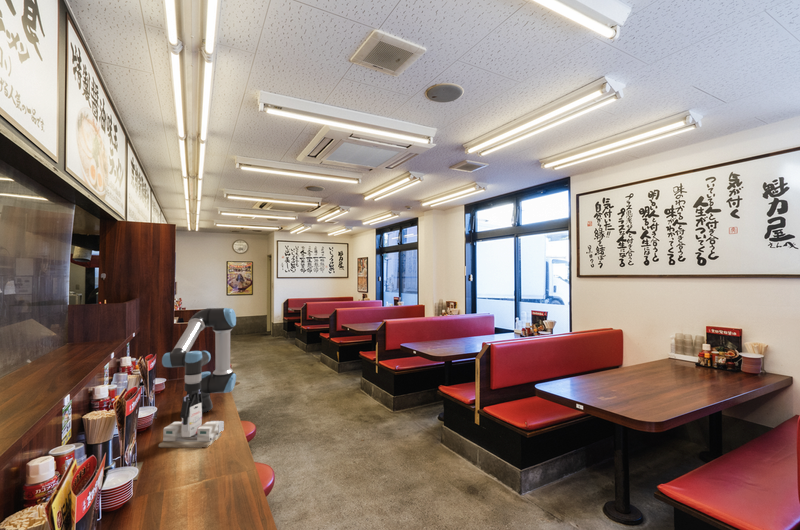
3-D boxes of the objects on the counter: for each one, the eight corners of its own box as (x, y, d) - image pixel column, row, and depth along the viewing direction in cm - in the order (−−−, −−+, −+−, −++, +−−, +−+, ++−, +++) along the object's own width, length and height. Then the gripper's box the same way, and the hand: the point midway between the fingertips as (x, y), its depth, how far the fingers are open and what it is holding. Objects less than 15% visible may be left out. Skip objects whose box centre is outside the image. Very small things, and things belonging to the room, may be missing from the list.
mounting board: (176, 435, 193) (176, 419, 194) (221, 435, 193) (221, 420, 194) (158, 447, 179) (159, 430, 180) (207, 447, 179) (207, 430, 180)
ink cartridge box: (193, 430, 191) (194, 401, 192) (201, 430, 190) (202, 402, 191) (180, 436, 183) (181, 406, 183) (189, 437, 182) (190, 407, 182)
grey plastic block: (211, 430, 201) (211, 420, 201) (223, 430, 200) (223, 421, 201) (206, 433, 196) (206, 424, 196) (218, 434, 195) (219, 424, 196)
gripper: (197, 376, 199) (196, 418, 198) (172, 388, 177) (170, 435, 176) (211, 376, 199) (210, 418, 197) (187, 388, 177) (186, 435, 176)
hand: (191, 426), depth 187 cm, fingers closed on ink cartridge box, 9 cm apart
